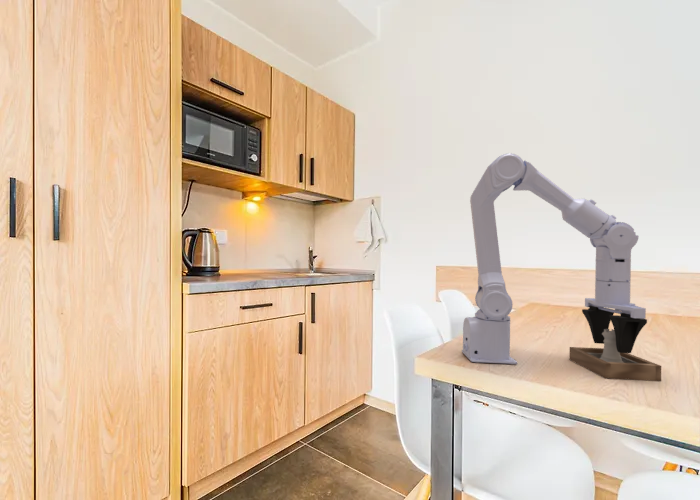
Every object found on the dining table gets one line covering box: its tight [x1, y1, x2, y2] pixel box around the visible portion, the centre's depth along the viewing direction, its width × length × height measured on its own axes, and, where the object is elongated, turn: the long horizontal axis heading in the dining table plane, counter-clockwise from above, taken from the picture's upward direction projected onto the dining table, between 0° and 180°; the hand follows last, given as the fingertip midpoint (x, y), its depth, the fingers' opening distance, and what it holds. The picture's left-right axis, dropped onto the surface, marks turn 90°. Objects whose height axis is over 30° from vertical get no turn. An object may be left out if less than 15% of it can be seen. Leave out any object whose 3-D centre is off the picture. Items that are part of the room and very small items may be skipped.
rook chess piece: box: [599, 328, 624, 363], centre depth 69 cm, size 4×4×8 cm
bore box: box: [568, 346, 662, 382], centre depth 69 cm, size 10×12×3 cm
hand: (611, 347), depth 69 cm, fingers open, 6 cm apart
